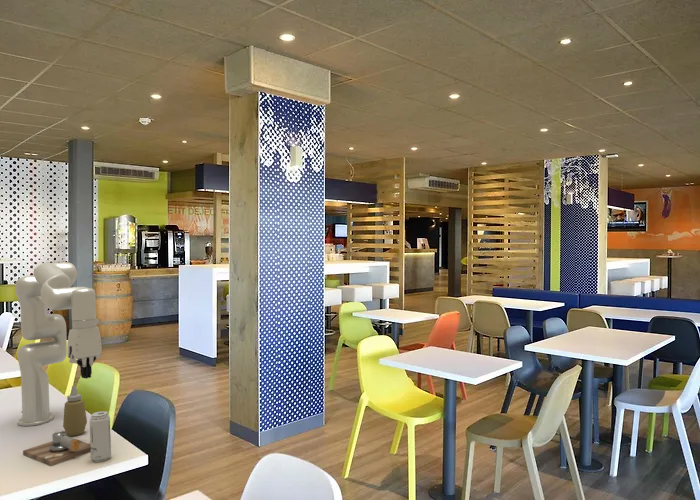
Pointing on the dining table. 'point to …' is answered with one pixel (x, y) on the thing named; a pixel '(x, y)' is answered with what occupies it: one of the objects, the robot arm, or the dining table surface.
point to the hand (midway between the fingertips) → (86, 377)
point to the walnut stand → (55, 453)
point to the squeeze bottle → (74, 414)
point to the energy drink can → (100, 436)
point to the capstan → (63, 442)
